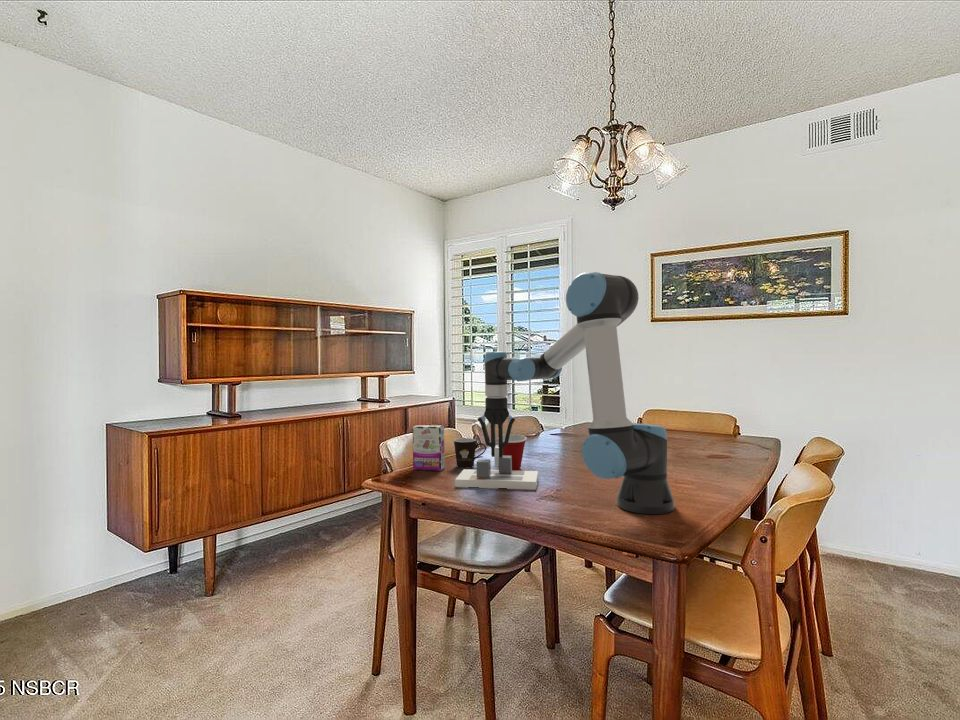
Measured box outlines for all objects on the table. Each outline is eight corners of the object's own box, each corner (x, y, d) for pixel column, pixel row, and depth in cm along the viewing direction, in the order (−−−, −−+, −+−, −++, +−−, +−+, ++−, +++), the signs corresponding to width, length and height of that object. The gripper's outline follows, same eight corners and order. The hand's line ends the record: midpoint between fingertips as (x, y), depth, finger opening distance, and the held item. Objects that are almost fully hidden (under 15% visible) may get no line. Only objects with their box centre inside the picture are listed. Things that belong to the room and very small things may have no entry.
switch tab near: (488, 477, 161) (488, 462, 161) (476, 477, 161) (476, 461, 161) (490, 474, 165) (490, 459, 165) (478, 474, 165) (478, 459, 165)
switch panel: (535, 489, 157) (535, 481, 157) (455, 487, 161) (455, 479, 161) (538, 478, 171) (537, 470, 171) (463, 476, 175) (463, 468, 175)
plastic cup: (498, 472, 180) (497, 439, 180) (498, 465, 191) (497, 434, 190) (528, 472, 179) (527, 439, 179) (526, 465, 190) (526, 434, 190)
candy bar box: (445, 468, 187) (444, 425, 187) (441, 471, 182) (440, 427, 182) (417, 467, 190) (416, 424, 190) (412, 470, 185) (411, 426, 185)
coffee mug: (449, 467, 189) (449, 441, 188) (461, 462, 196) (460, 437, 196) (476, 470, 183) (476, 443, 183) (487, 465, 191) (487, 439, 191)
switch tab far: (510, 472, 167) (510, 458, 166) (498, 472, 167) (498, 457, 167) (511, 470, 170) (511, 455, 170) (500, 469, 171) (500, 455, 171)
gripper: (516, 396, 171) (517, 464, 172) (479, 396, 174) (480, 463, 174) (514, 398, 164) (515, 469, 164) (475, 398, 166) (476, 468, 166)
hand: (497, 466), depth 169 cm, fingers closed
